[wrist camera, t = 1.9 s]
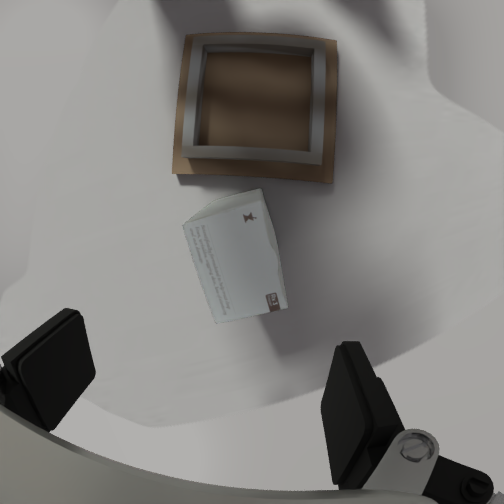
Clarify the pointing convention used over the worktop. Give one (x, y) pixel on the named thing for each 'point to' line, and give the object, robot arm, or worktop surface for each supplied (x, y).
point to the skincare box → (237, 257)
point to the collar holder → (257, 106)
